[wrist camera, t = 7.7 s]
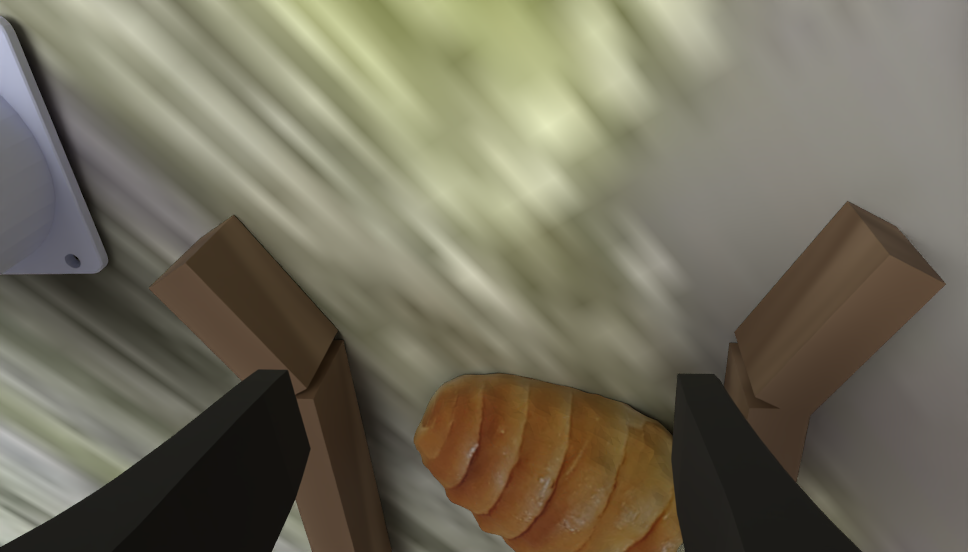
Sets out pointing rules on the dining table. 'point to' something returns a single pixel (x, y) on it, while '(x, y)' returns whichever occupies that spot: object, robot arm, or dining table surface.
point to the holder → (749, 375)
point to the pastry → (551, 465)
